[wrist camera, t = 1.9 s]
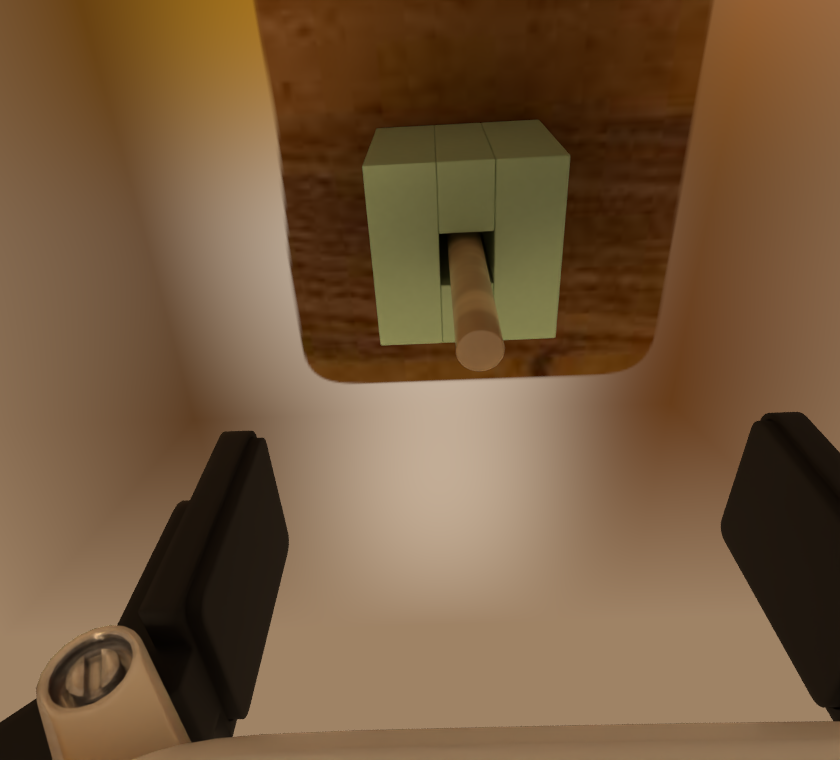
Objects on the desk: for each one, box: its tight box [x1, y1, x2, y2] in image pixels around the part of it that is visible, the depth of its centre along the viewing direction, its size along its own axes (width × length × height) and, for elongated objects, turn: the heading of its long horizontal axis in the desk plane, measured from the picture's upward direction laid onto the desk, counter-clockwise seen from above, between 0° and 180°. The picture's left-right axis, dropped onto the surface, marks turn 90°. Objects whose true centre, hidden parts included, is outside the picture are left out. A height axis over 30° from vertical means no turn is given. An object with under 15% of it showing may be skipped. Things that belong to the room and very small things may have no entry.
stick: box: [447, 232, 505, 371], centre depth 26 cm, size 2×2×16 cm
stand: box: [362, 120, 570, 345], centre depth 29 cm, size 8×8×8 cm
